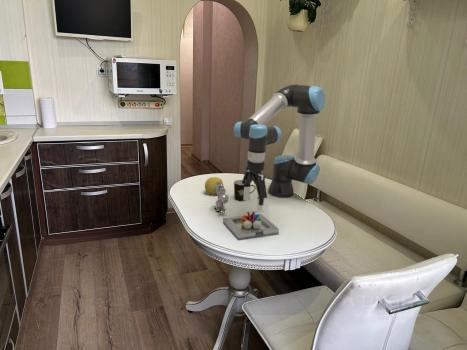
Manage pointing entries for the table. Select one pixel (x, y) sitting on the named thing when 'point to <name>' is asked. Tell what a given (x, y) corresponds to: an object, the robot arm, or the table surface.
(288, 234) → the table surface
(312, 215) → the table surface
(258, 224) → the colorful rounded-lobe toy
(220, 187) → the robot toy
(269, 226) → the plate
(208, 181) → the fruit
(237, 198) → the coffee mug
